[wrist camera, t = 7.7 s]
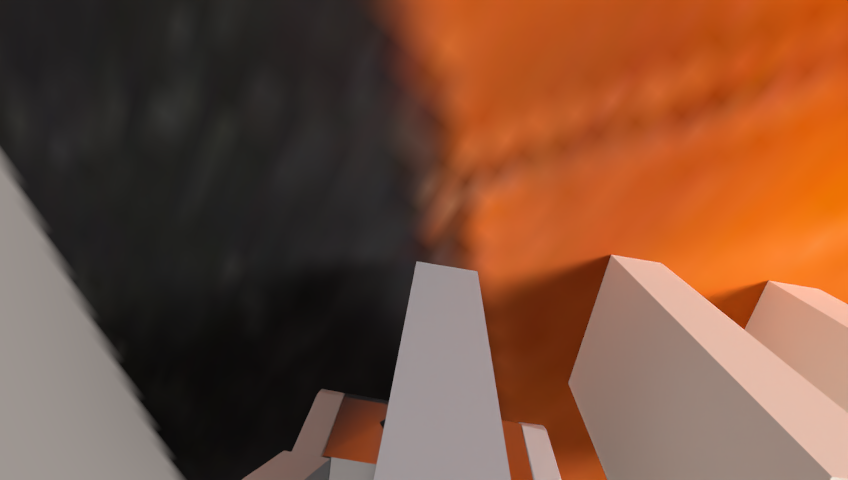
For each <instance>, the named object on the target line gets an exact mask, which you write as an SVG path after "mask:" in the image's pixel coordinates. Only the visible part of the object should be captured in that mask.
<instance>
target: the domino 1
mask: <svg viewBox="0 0 848 480" xmlns="http://www.w3.org/2000/svg"><path fill="white" fill-rule="evenodd" d="M374 480H511V477H510V470H509V464H508V458H507V452H506V446H505V439H504V433H503V427H502V421H501V415H500V408H499V402H498V396H497V390H496V383H495V377H494V371H493V365H492V359H491V352H490V346H489V340H488V334H487V327H486V321H485V315H484V309H483V303H482V296H481V290H480V284H479V278H478V271H472V270H466V269H459V268H453V267H447V266H441V265H435V264H429V263H423V262H416V267H415V272H414V277H413V282H412V287H411V292H410V298H409V303H408V308H407V313H406V318H405V323H404V328H403V333H402V338H401V343H400V348H399V353H398V358H397V363H396V369H395V374H394V379H393V384H392V389H391V394H390V399H389V404H388V409H387V414H386V419H385V424H384V429H383V435H382V440H381V445H380V450H379V455H378V460H377V465H376V470H375V475H374Z"/></svg>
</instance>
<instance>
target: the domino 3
mask: <svg viewBox="0 0 848 480" xmlns="http://www.w3.org/2000/svg"><path fill="white" fill-rule="evenodd" d="M745 331H746V332H748V333H749V334H750V335H751V336H753V337H754V338H755V339H756V340H758V341H759V342H760V343H761V344H763V345H764V346H765V347H766V348H768V349H769V350H770V351H771V352H773V353H774V354H775V355H776V356H777V357H779V358H780V359H781V360H782V361H784V362H785V363H786V364H787V365H789V366H790V367H791V368H792V369H794V370H795V371H796V372H797V373H799V374H800V375H801V376H802V377H804V378H805V379H806V380H807V381H809V382H810V383H811V384H812V385H813V386H815V387H816V388H817V389H818V390H820V391H821V392H822V393H823V394H825V395H826V396H827V397H828V398H830V399H831V400H832V401H833V402H835V403H836V404H837V405H838V406H840V407H841V408H842V409H843V410H845V411H846V412H847V413H848V304H846V303H844V302H842V301H840V300H839V299H837V298H835V297H833V296H831V295H829V294H827V293H825V292H824V291H822V290H820V289H816V288H810V287H804V286H798V285H792V284H786V283H780V282H774V281H768V282H767V284H766V286H765V288H764V290H763V292H762V295H761V297H760V299H759V301H758V303H757V305H756V307H755V309H754V311H753V313H752V315H751V317H750V319H749V321H748V323H747V325H746V327H745Z"/></svg>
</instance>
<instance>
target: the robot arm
mask: <svg viewBox="0 0 848 480" xmlns="http://www.w3.org/2000/svg"><path fill="white" fill-rule="evenodd" d="M388 404H389V401H386V400H380V399H375V398H370V397H365V396H359V395H354V394H349V393H346V394H345V393H341V392H336V391H331V390H325V389H321V390H320V391H319V392H318V394H317V396H316V398H315V400H314V402H313V405H312V407H311V409H310V411H309V414H308V416H307V418H306V420H305V423H304V425H303V427H302V429H301V432H300V434H299V436H298V438H297V441H296V443H295V445H294V447H293V450H292V452H289V451H283V452H281V453H280V454H278V455H277V456H275V457H274V458H272V459H271V460H269V461H268V462H267V463H265V464H264V465H262V466H261V467H259V468H258V469H256V470H255V471H253V472H252V473H251V474H249V475H248V476H246V477H245V478H243V479H242V480H374V475H375V470H376V465H377V460H378V455H379V450H380V445H381V440H382V435H383V429H384V424H385V419H386V414H387V409H388ZM501 421H502V427H503V433H504V439H505V446H506V452H507V458H508V464H509V470H510V477H511V480H561V477H560V473H559V470H558V467H557V463H556V460H555V457H554V453H553V450H552V447H551V443H550V440H549V437H548V433H547V430H546V428H545V427H544V426H543V425H537V424H530V423H523V422H514V421H507V420H501Z"/></svg>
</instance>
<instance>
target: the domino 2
mask: <svg viewBox="0 0 848 480" xmlns="http://www.w3.org/2000/svg"><path fill="white" fill-rule="evenodd" d="M568 384H569V387H570V389H571V391H572V394H573V396H574V399H575V401H576V404H577V406H578V409H579V411H580V414H581V416H582V419H583V421H584V423H585V426H586V428H587V431H588V433H589V436H590V438H591V441H592V443H593V446H594V448H595V450H596V453H597V455H598V458H599V460H600V463H601V465H602V468H603V470H604V473H605V475H606V477H607V480H848V413H847V412H846V411H845V410H843V409H842V408H841V407H840V406H838V405H837V404H836V403H835V402H833V401H832V400H831V399H830V398H828V397H827V396H826V395H825V394H823V393H822V392H821V391H820V390H818V389H817V388H816V387H815V386H813V385H812V384H811V383H810V382H809V381H807V380H806V379H805V378H804V377H802V376H801V375H800V374H799V373H797V372H796V371H795V370H794V369H792V368H791V367H790V366H789V365H787V364H786V363H785V362H784V361H782V360H781V359H780V358H779V357H777V356H776V355H775V354H774V353H773V352H771V351H770V350H769V349H768V348H766V347H765V346H764V345H763V344H761V343H760V342H759V341H758V340H756V339H755V338H754V337H753V336H751V335H750V334H749V333H748V332H746V331H745V330H744V329H743V328H742V327H740V326H739V325H738V324H737V323H735V322H734V321H733V320H732V319H730V318H729V317H728V316H727V315H725V314H724V313H723V312H722V311H720V310H719V309H718V308H717V307H715V306H714V305H713V304H712V303H710V302H709V301H708V300H707V299H706V298H704V297H703V296H702V295H701V294H699V293H698V292H697V291H696V290H694V289H693V288H692V287H691V286H689V285H688V284H687V283H686V282H684V281H683V280H682V279H681V278H679V277H678V276H677V275H676V274H674V273H673V272H672V271H671V270H670V269H668V268H667V267H666V266H665V265H663V264H662V263H659V262H653V261H647V260H641V259H635V258H628V257H622V256H616V255H611V257H610V260H609V263H608V266H607V269H606V272H605V274H604V277H603V280H602V283H601V286H600V289H599V292H598V295H597V298H596V301H595V304H594V307H593V310H592V313H591V316H590V319H589V322H588V325H587V328H586V331H585V334H584V337H583V340H582V343H581V346H580V349H579V352H578V355H577V358H576V361H575V364H574V367H573V370H572V373H571V376H570V379H569V382H568Z"/></svg>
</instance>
